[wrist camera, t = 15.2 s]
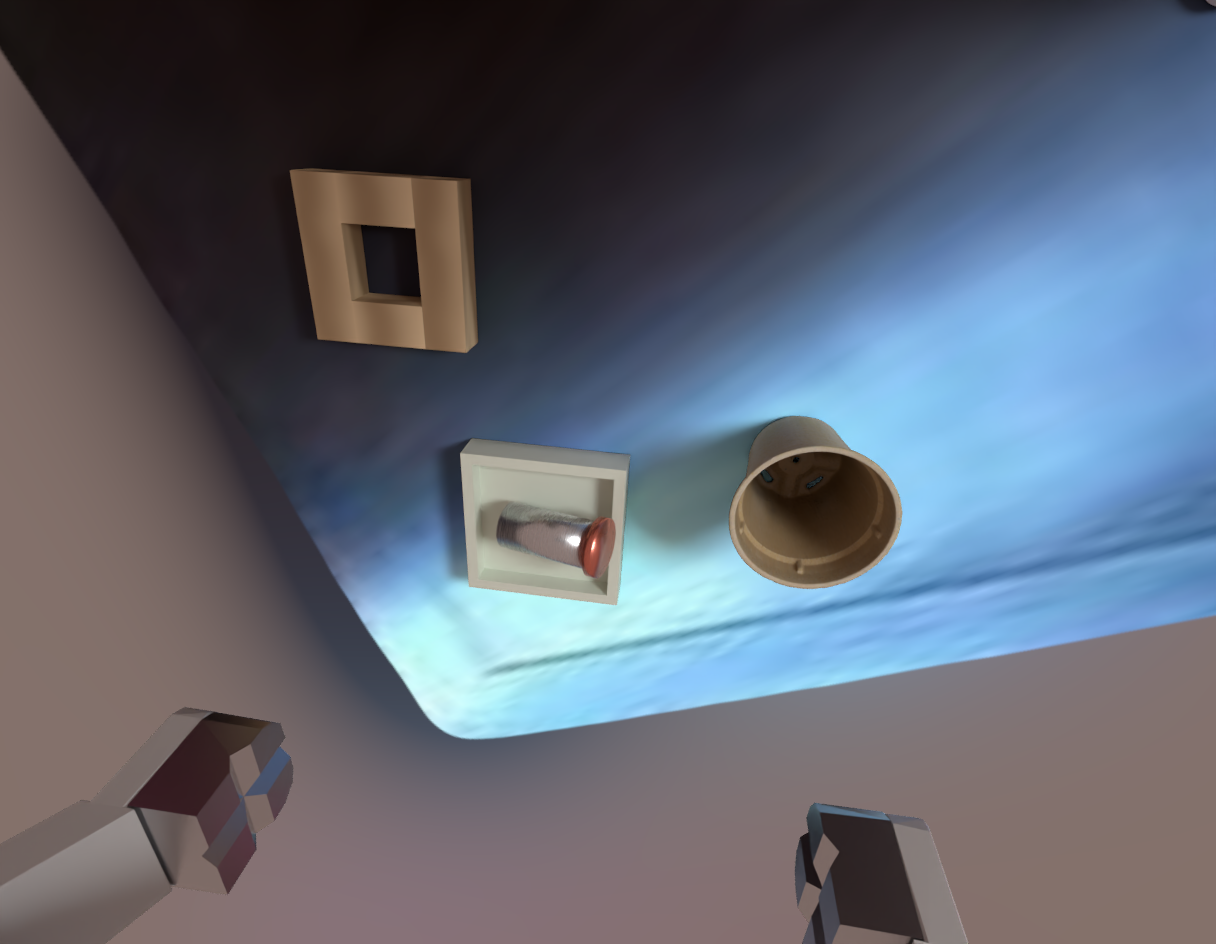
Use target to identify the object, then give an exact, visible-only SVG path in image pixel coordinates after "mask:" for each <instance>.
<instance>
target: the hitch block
mask: <svg viewBox="0 0 1216 944" xmlns="http://www.w3.org/2000/svg"><path fill="white" fill-rule="evenodd" d="M290 175H291V181H292V187H293V193H294V199H295V205H296V211H297V217H298V223H299V229H300V235H301V241H302V247H303V253H304V259H305V265H306V271H307V277H308V283H309V289H310V295H311V301H312V307H313V313H314V319H315V325H316V331H317V337H318V339H321V340H332V341H343V342H354V343H365V344H376V345H386V346H397V347H408V348H419V349H430V350H441V351H452V352H463V353H467V352H468V351H469V350H470V349H471V348H472V347H473V346H474V345H476V344H477V343H478V332H477V310H476V288H475V267H474V245H473V223H472V202H471V180H470V179H465V178H450V177H435V176H420V175H404V174H389V173H374V172H359V171H344V170H329V169H314V168H311V169H297V170H290ZM361 225H375V226H388V227H402V228H415V232H416V244H417V255H418V267H419V278H420V290H421V297H413V296H401V295H389V294H377V293H369V288H368V280H367V272H366V264H365V255H364V247H363V239H362V231H361Z"/></svg>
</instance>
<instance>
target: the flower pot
mask: <svg viewBox="0 0 1216 944" xmlns="http://www.w3.org/2000/svg"><path fill="white" fill-rule="evenodd" d="M795 457H798V458H799V461H798V462H793V459H794V458H795ZM764 469H765V470H766V471H767V472H768V473H769V475H770V476H771V477H772V478H773V481H771V482H767V481H765V479H764V478H763V476H762V474H761V471H763V470H764ZM820 476H822V477H823V479H821V480H820V482H819V483H817V484H816V485H814V486H813V487H810V488H806V487H807V483H809V482H811V481H814V480H815V479H817V478H818V477H820ZM901 519H902V507H901V501H900V497H899V494H898V492H897V489H896V487H895V486H894V484H893V482H892V480H891V479H890V477H889V476H888V475H887V474H886V472H885V471H884V470H883V469H882V468H881V467H880V466H878V465H877V464H876V463H875V462H873V461H872V460H870V459H869V458H867V457H866V456H864V455H862V454H860V453H858V452H855V451H853V450H851V449H850V448H849V447H848V446H847V445H846V444H845V443H844V441H843V440H842V439H841V438H840V437H839V435H838V434H837V433H836V431H835V430H834V429H833V428H831V427H830V426H829V425H828V424H826V423H825V422H823V421H821V420H819V419H815V418H810V417H802V416H790V417H785V418H782V419H780V420H777V421H775V422H773V423H771V424H770V425H768V426H767V427H766V428H764V429H763V430H762V431H761V432H760V433H759V434H758V436H757V437H756V438H755V440H754V442H753V444H752V447H751V450H750V453H749V461H748V467H747V473H746V477H745V479H744V480H743V481H742V483H741V484H740V485H739V487H738V489H737V491H736V493H735V495H734V497H733V500H732V503H731V507H730V512H729V530H730V535H731V539H732V542H733V544H734V546H735V548H736V550H737V552H738V554H739V555H740V557H741V558H742V559H743V560H744V562H745V563H746V564H747V565H748V566H750V568H752V569H753V570H754V571H755V572H757V573H758V574H760V575H761V576H763V577H765V578H767V579H769V580H772V581H774V582H776V583H779V584H781V585H785V586H788V587H796V588H803V589H815V588H827V587H831V586H835V585H838V584H842V583H846V582H848V581H850V580H853V579H855V578H857V577H859V576H861V575H862V574H864V573H866V572H867V571H868V570H870V569H871V568H873V567H874V566H875V565H877V564H878V563H879V562H880V561H881V560H882V559H883V557H884V556H885V555H886V554H887V553H888V552H889V550H890V548H891V547H892V545H893V544H894V542H895V540H896V538H897V536H898V533H899V530H900V526H901Z"/></svg>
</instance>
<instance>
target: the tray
mask: <svg viewBox="0 0 1216 944" xmlns="http://www.w3.org/2000/svg"><path fill="white" fill-rule="evenodd" d="M460 457H461V473H462V488H463V503H464V519H465V534H466V549H467V565H468V580H469V587H476V588H484V589H492V590H500V591H508V592H516V593H524V594H532V595H540V596H547V597H555V598H563V599H571V600H579V601H587V602H595V603H603V604H611V605H617V601H618V595H619V590H620V584H621V571H622V557H623V544H624V531H625V518H626V505H627V492H628V478H629V465H630V455H628V454H619V453H609V452H599V451H590V450H580V449H571V448H561V447H552V446H542V445H532V444H523V443H513V442H504V441H494V440H484V439H475V438H472V439H471V440H470V441H469V442H468V444H467V445H466V446H465V448H464V449H463V450H462V451H461V453H460ZM510 502H518V503H522V504H526V505H530V506H535V507H539V508H543V509H547V510H551V511H556V512H560V513H564V514H568V515H572V516H577V517H581V518H585V519H589V520H593V521H595V520H596V519H597V518H598V517H600V516H602V517H606V518H610V519H613V521H614V523H615V529H616V535H615V544H614V549H613V553H612V556H611V559H610V562H609V564H608V567H607V569H606V571H605V572H604V574H603V575H602V576H601V577H600V578H598V579H596V578H592V577H588V576H586V575H584V573H583V569H581V568H578V567H574V566H570V565H566V564H563V563H559V562H555V561H552V560H548V559H544V558H540V557H537V556H533V555H529V554H525V553H522V552H518V551H514V550H510V549H507V548H503V547H501V546H500V545H499V544H498V542H497V537H496V530H497V524H498V520H499V517H500V515H501V513H502V511H503V509H504V508H505V506H506V505H507V504H508V503H510Z"/></svg>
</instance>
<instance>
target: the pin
mask: <svg viewBox="0 0 1216 944" xmlns="http://www.w3.org/2000/svg"><path fill="white" fill-rule="evenodd" d="M615 535H616V529H615V523H614V521H613V519H610V518H606V517H602V516H600V517H598V518H597V519H596V520H595V521H593V520H589V519H585V518H581V517H577V516H572V515H568V514H564V513H560V512H556V511H551V510H547V509H543V508H539V507H535V506H530V505H526V504H522V503H518V502H510V503H508V504H507V505H506V506H505V508H504V509H503V511H502V513H501V515H500V517H499V520H498V524H497V530H496V537H497V542H498V544H499V545H500V546H501V547H503V548H507V549H510V550H514V551H518V552H522V553H525V554H529V555H533V556H537V557H540V558H544V559H548V560H552V561H555V562H559V563H563V564H566V565H570V566H574V567H578V568H581V569H583V573H584V575H586V576H588V577H592V578H596V579H598V578H600V577H601V576H602V575H603V574H604V572H605V571H606V569H607V567H608V564H609V562H610V559H611V556H612V553H613V549H614V544H615Z"/></svg>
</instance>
